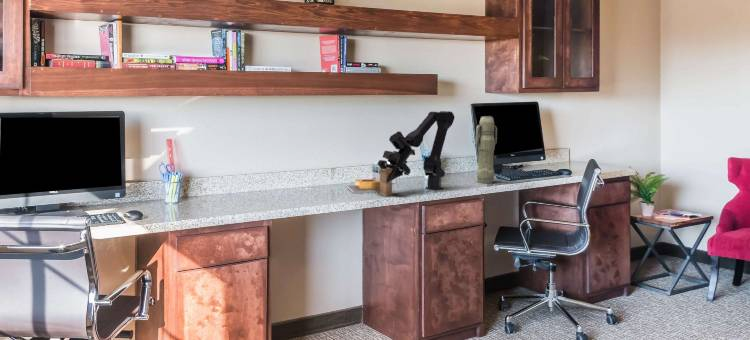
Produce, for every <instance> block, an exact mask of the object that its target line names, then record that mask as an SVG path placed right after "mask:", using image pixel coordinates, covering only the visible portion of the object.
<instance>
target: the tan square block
mask: <svg viewBox="0 0 750 340" xmlns="http://www.w3.org/2000/svg"><path fill="white" fill-rule="evenodd" d="M391 172H392V169H380V193H379V195H380V194H381V195H382V196H385V195H387V196H392V195H393V183H392V180H391V181H390V182H387V179H388V177H389V175H390V174H391Z"/></svg>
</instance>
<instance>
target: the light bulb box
mask: <svg viewBox="0 0 750 340" xmlns="http://www.w3.org/2000/svg"><path fill="white" fill-rule="evenodd" d="M377 163H378V162H372V175H371V176H372V178H371V179H378V180H380V169H381V168H380V167H379V165H378V164H377ZM387 163H388V164H390V162H388V161H387ZM395 183H396V178H395V179H393V180H392V184H395Z"/></svg>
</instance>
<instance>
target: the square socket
mask: <svg viewBox="0 0 750 340" xmlns="http://www.w3.org/2000/svg"><path fill="white" fill-rule="evenodd" d="M354 182H355V183H354V184H351V185H347V186H346V188H347V189H348V190H349V191H350V192H351V193H352V194H380V180H378V179H372V178H363V179H362V178H357V179H356V178H355V181H354Z"/></svg>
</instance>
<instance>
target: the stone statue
mask: <svg viewBox="0 0 750 340" xmlns="http://www.w3.org/2000/svg"><path fill="white" fill-rule="evenodd" d="M497 140H498V128H497V125H495V121H494V117H493V116H491V115H484V116H480V120H479V124H478V125H477V126H476V129H475V145H477V151H478V156H477V157H478V160H477V161H478V163H477V165H478V167H477V169H476V178H477V179H476V183H477V184H483V185H484V184H486V185H488V184H494V182H495V181H494V179H495V167H494V153H495V152H494V151H495V147H496V144H498V141H497Z"/></svg>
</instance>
